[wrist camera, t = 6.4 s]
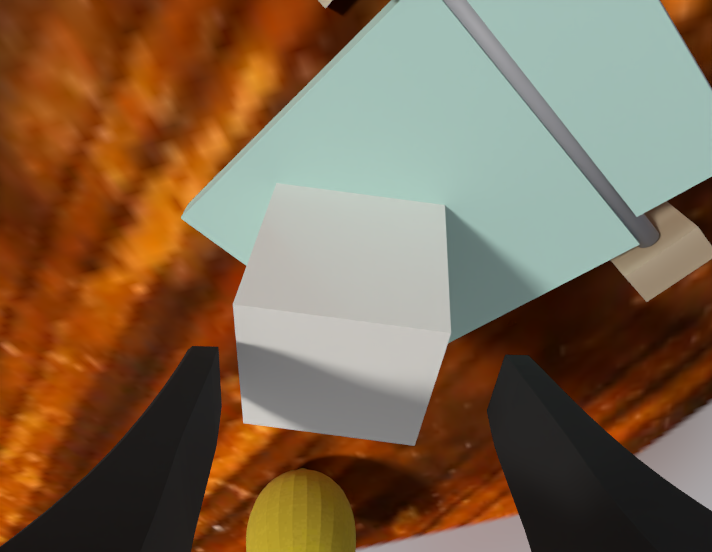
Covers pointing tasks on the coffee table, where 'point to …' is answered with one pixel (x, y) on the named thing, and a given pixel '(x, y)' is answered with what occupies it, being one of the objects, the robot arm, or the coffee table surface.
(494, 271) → the trapdoor
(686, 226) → the frame
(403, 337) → the white cube
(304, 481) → the lemon
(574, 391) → the coffee table surface
